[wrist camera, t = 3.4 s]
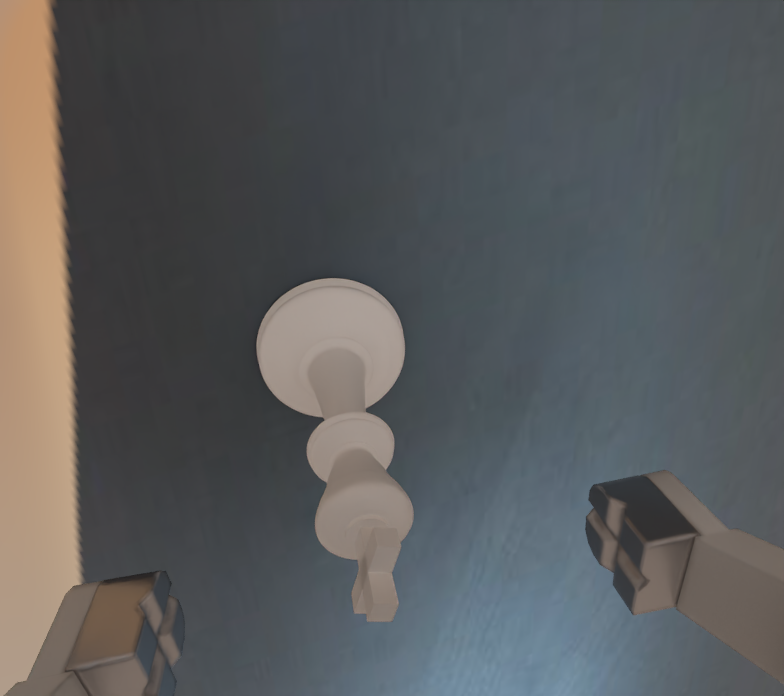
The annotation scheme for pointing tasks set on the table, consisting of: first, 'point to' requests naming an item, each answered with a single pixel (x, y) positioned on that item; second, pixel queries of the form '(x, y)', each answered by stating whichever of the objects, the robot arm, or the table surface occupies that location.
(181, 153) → the table surface
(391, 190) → the table surface
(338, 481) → the chess piece
